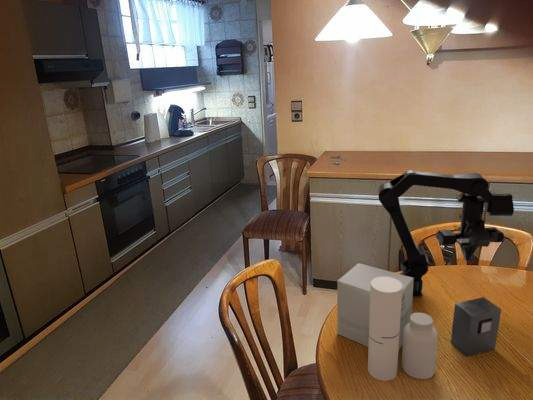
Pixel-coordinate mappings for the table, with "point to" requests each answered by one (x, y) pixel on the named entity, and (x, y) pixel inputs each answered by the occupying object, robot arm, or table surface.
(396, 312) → the cylindrical container
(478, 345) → the block
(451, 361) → the table surface
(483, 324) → the pin
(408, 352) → the pill bottle
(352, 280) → the supplement box
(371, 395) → the table surface
